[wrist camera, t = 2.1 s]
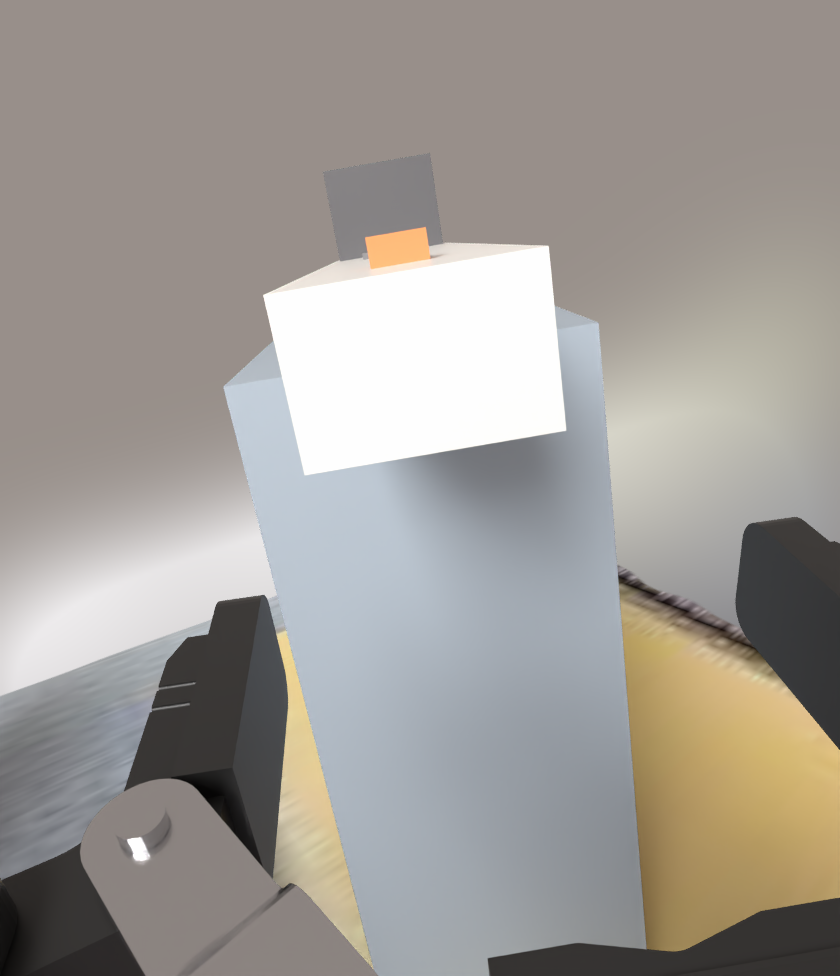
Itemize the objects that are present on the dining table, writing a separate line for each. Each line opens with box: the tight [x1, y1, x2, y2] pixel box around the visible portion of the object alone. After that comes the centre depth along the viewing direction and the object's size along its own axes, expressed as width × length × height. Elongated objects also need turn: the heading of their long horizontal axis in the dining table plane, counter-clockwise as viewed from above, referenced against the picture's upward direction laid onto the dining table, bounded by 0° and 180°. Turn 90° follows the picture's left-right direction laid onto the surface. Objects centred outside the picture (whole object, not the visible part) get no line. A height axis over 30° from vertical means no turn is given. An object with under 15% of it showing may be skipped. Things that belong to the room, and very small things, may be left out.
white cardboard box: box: [263, 153, 566, 475], centre depth 23 cm, size 26×4×6 cm, turn 3°
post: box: [224, 306, 647, 976], centre depth 35 cm, size 17×13×32 cm
